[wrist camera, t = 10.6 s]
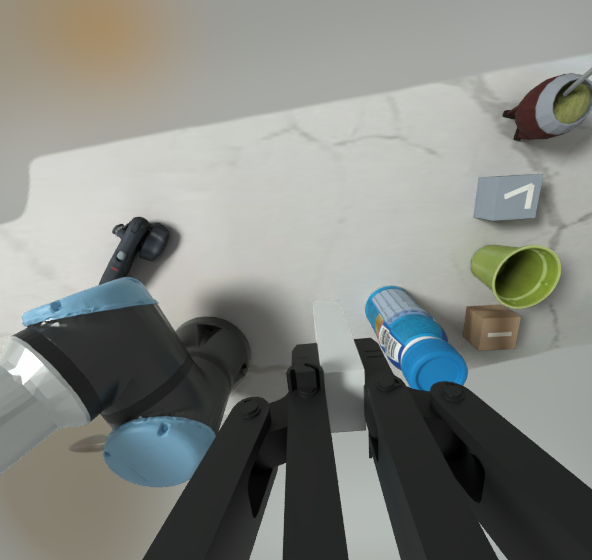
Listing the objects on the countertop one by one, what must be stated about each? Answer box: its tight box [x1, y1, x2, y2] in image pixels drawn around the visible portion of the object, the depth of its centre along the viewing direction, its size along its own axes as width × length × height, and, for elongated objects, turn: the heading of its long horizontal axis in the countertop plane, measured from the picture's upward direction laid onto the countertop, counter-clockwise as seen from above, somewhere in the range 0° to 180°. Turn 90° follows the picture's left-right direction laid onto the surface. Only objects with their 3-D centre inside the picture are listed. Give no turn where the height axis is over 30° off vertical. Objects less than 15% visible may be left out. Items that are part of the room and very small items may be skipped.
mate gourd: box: [503, 68, 592, 140], centre depth 35 cm, size 8×8×15 cm
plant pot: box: [471, 245, 561, 309], centre depth 45 cm, size 9×9×9 cm
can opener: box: [99, 217, 169, 285], centre depth 47 cm, size 18×7×6 cm, turn 140°
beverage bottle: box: [365, 286, 468, 391], centre depth 42 cm, size 8×8×20 cm
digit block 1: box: [463, 305, 521, 351], centre depth 50 cm, size 6×6×5 cm
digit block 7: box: [474, 174, 543, 221], centre depth 43 cm, size 6×6×5 cm
